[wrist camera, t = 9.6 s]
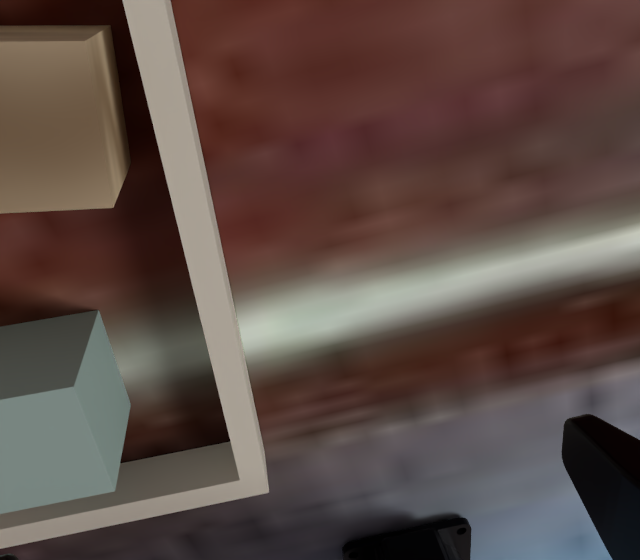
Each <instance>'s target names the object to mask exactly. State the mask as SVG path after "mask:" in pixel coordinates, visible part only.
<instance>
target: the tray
mask: <svg viewBox="0 0 640 560" xmlns="http://www.w3.org/2000/svg"><path fill="white" fill-rule="evenodd" d="M122 1H123V5H124V9H125V13H126V17H127V21H128V25H129V29H130V34H131V38H132V42H133V46H134V50H135V54H136V58H137V62H138V66H139V70H140V74H141V78H142V82H143V87H144V91H145V95H146V99H147V103H148V107H149V111H150V115H151V119H152V123H153V127H154V131H155V136H156V140H157V144H158V148H159V152H160V156H161V160H162V164H163V168H164V172H165V176H166V180H167V184H168V189H169V193H170V197H171V201H172V205H173V209H174V213H175V217H176V221H177V225H178V229H179V233H180V238H181V242H182V246H183V250H184V254H185V258H186V262H187V266H188V270H189V274H190V278H191V282H192V286H193V291H194V295H195V299H196V303H197V307H198V311H199V315H200V319H201V323H202V327H203V331H204V335H205V340H206V344H207V348H208V352H209V356H210V360H211V364H212V368H213V372H214V376H215V380H216V384H217V388H218V393H219V397H220V401H221V405H222V409H223V413H224V417H225V421H226V425H227V429H228V433H229V437H230V442H226V443H221V444H216V445H211V446H206V447H201V448H196V449H191V450H186V451H181V452H175V453H170V454H165V455H160V456H155V457H150V458H145V459H140V460H135V461H130V462H125V463H120V467H119V473H118V478H117V484H116V489H115V491H114V492H109V493H104V494H99V495H94V496H89V497H84V498H79V499H74V500H69V501H64V502H59V503H54V504H49V505H44V506H39V507H34V508H29V509H23V510H18V511H13V512H8V513H3V514H0V549H2V548H7V547H12V546H16V545H21V544H26V543H31V542H36V541H40V540H45V539H50V538H55V537H59V536H64V535H69V534H74V533H79V532H83V531H88V530H93V529H98V528H103V527H107V526H112V525H117V524H122V523H127V522H131V521H136V520H141V519H146V518H150V517H155V516H160V515H165V514H170V513H174V512H179V511H184V510H189V509H194V508H198V507H203V506H208V505H213V504H217V503H222V502H227V501H232V500H237V499H241V498H246V497H251V496H256V495H261V494H265V493H269V486H268V478H267V469H266V460H265V452H264V447H263V442H262V438H261V433H260V428H259V423H258V418H257V414H256V409H255V404H254V399H253V394H252V390H251V385H250V380H249V375H248V371H247V366H246V361H245V356H244V351H243V347H242V342H241V337H240V332H239V327H238V323H237V318H236V313H235V308H234V303H233V299H232V294H231V289H230V284H229V279H228V275H227V270H226V265H225V260H224V255H223V251H222V246H221V241H220V236H219V231H218V227H217V222H216V217H215V212H214V207H213V203H212V198H211V193H210V188H209V183H208V179H207V174H206V169H205V164H204V159H203V155H202V150H201V145H200V140H199V135H198V131H197V126H196V121H195V116H194V111H193V107H192V102H191V97H190V92H189V87H188V83H187V78H186V73H185V68H184V63H183V59H182V54H181V49H180V44H179V39H178V35H177V30H176V25H175V20H174V15H173V11H172V6H171V1H170V0H122Z"/></svg>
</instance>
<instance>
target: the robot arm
mask: <svg viewBox="0 0 640 560" xmlns="http://www.w3.org/2000/svg"><path fill="white" fill-rule="evenodd" d="M562 460H563V463H564V466H565V468H566V470H567V472H568V474H569V476H570V478H571V480H572V482H573V484H574V486H575V488H576V490H577V492H578V494H579V496H580V498H581V500H582V502H583V504H584V506H585V508H586V510H587V512H588V514H589V516H590V518H591V520H592V522H593V523H594V525H595V527H596V529H597V531H598V533H599V535H600V537H601V539H602V541H603V543H604V545H605V547H606V549H607V550H608V552H609V554H610V556H611V557H612V559H613V560H640V440H638V439H637V438H635V437H633V436H631V435H629V434H627V433H626V432H624V431H622V430H620V429H618V428H616V427H614V426H613V425H611V424H609V423H607V422H605V421H603V420H602V419H600V418H598V417H596V416H594V415H590V414H585V415H581V416H577V417H572V418H569V419H567V420H566V422H565V424H564V431H563V443H562ZM470 548H471V527H470V525H469V522H468V520H467V519H466V518H456V519H451V520H447V521H442V522H438V523H433V524H429V525H424V526H420V527H415V528H410V529H406V530H401V531H397V532H392V533H388V534H383V535H379V536H374V537H370V538H365V539H360V540H356V541H351V542H349V543H347V544H345V545H344V546H343V548H342V553H343V560H470ZM0 560H18V558H17V557H16V556H15V555H13V554H5V555H1V556H0Z"/></svg>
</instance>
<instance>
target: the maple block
mask: <svg viewBox="0 0 640 560" xmlns="http://www.w3.org/2000/svg"><path fill="white" fill-rule="evenodd" d="M130 165H131V158H130V152H129V145H128V138H127V131H126V124H125V118H124V111H123V104H122V97H121V91H120V84H119V77H118V70H117V64H116V57H115V50H114V43H113V36H112V30H111V25H39V26H0V213H19V212H39V211H59V210H80V209H100V208H113V207H114V205H115V202H116V200H117V197H118V195H119V192H120V190H121V187H122V185H123V182H124V180H125V177H126V175H127V172H128V170H129V167H130Z"/></svg>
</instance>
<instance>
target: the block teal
mask: <svg viewBox="0 0 640 560" xmlns="http://www.w3.org/2000/svg"><path fill="white" fill-rule="evenodd" d="M130 406H131V404H130V401H129V398H128V395H127V392H126V389H125V386H124V383H123V380H122V377H121V374H120V371H119V368H118V366H117V363H116V360H115V357H114V354H113V351H112V348H111V345H110V342H109V339H108V336H107V333H106V330H105V327H104V324H103V321H102V318H101V315H100V312H99V310H96V311H90V312H84V313H78V314H72V315H66V316H60V317H54V318H49V319H43V320H37V321H31V322H25V323H19V324H13V325H7V326H1V327H0V514H3V513H8V512H13V511H18V510H23V509H29V508H34V507H39V506H44V505H49V504H54V503H59V502H64V501H69V500H74V499H79V498H84V497H89V496H94V495H99V494H104V493H109V492H114V491H115V489H116V484H117V478H118V473H119V467H120V461H121V456H122V450H123V445H124V439H125V434H126V428H127V423H128V417H129V411H130Z"/></svg>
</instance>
